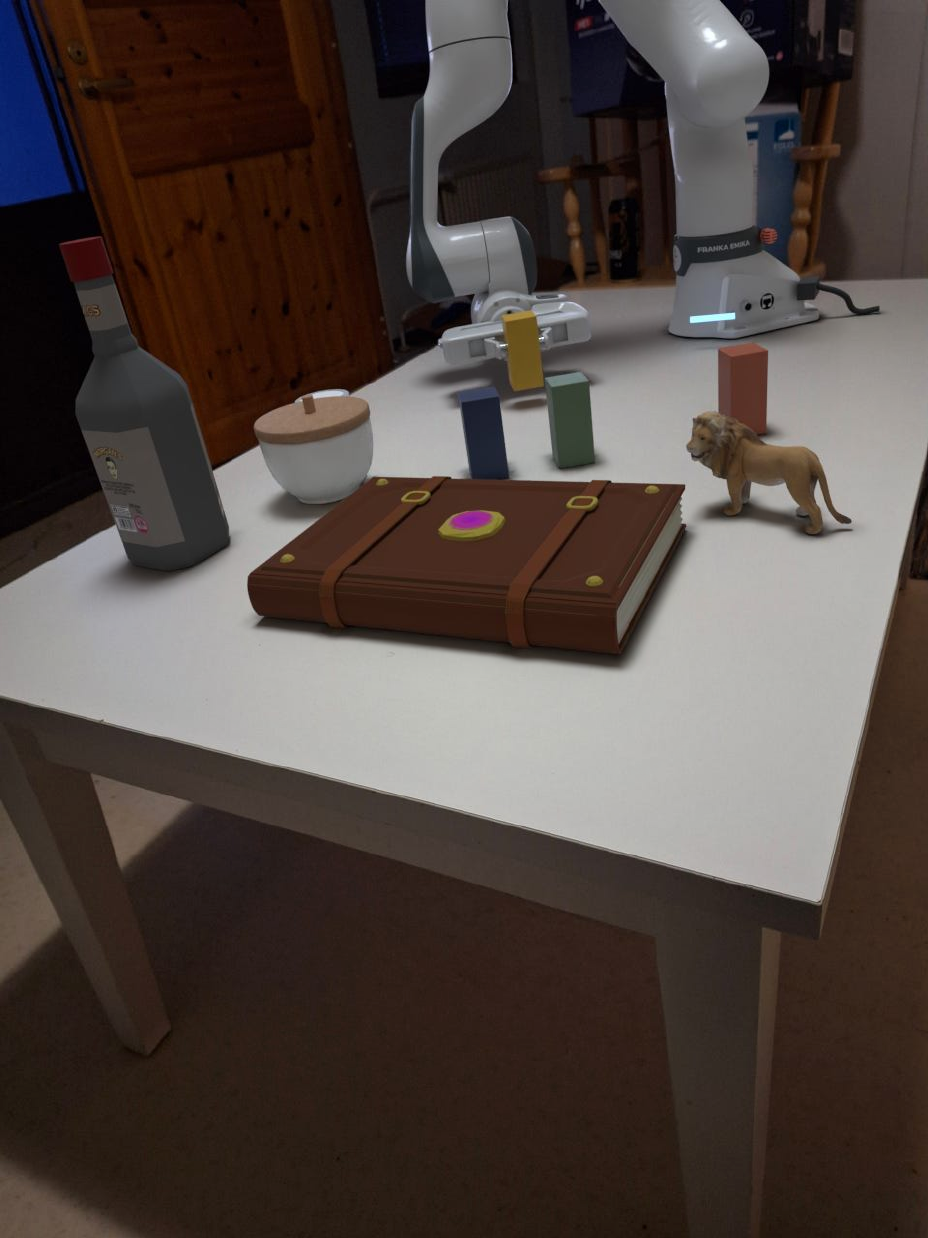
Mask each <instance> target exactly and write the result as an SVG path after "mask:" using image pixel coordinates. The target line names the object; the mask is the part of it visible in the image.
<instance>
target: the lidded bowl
mask: <svg viewBox="0 0 928 1238" xmlns="http://www.w3.org/2000/svg"><path fill="white" fill-rule="evenodd" d="M301 397H302V401H300V402H296V403H295V402H293V403H290V404H289V403H288V404H285V405H283V406H280V407H278V408H275V409H273V410H271V411H269V412H267V413H265V414H263V415H262V416H260V417H259V418H258V419H256V420H255V422H254V425H253V430H254V434H255V437H256V439H257V440H258V444H259V447H260V451H261V454H262V457H263V459H264V463H265V464H266V467H267V468H268V470H269V472H270V475H272V477H273V479H274V480H275V482H276V483H277V484H278V485H279V486H280V487H281V488H282V489H283V490H284V491H286V492H288V493H289V494H290V495H292V496H294V497H296V498H297V500H298V501H299V502H300V503H303V504H306V505H324V504H330V503H335V502H339V501H343V500H344V499H346V498H347V497H348V496H349V495H351V494H352V493H353V492H355V491H356V490H357V489H358V488H360V487H361V484H362V482H363V481H364V480H365V478H366V477H367V475H368V474H369V472H370V469H371V467H372V463H373V458H374V445H375V444H374V433H373V426H372V421H371V408H370V405H369V402H368V401H366V400H365V399H363V398H362V397H356V396H350V395H349V396H332V397H322V398H315V399H313V395H307V394H305V395H302V396H301Z"/></svg>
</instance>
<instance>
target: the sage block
mask: <svg viewBox="0 0 928 1238" xmlns="http://www.w3.org/2000/svg"><path fill="white" fill-rule="evenodd" d="M544 386H545V396H546V403H547V415H548V424H549V433H550V434H549V435H550V444H551V454H552V458H553V460H554V462H555V463H556V465H557V467H558V468H559V469H564V468H571V467H577V466H583V465H587V464H593V463H596V456H595V455H596V454H595V443H594V442H595V441H594V440H595V439H594V430H593V429H594V428H593V416H592V402H591V389H590V380H589V379H588V378H587V377H586V376H585V374H584V373H583V372H582V371H577V372H571V373H566V374H559V375H554V376H553V375H552V376H548V377H545V378H544Z"/></svg>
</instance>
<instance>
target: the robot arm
mask: <svg viewBox="0 0 928 1238" xmlns="http://www.w3.org/2000/svg"><path fill="white" fill-rule="evenodd" d="M597 1H598V3H600V5H601V6H602V7H603V9H604V10H605V12H606V14H608V16H609V17H610V19H611V20H612V22H614V24H615V25H616V27H617V28H618V29H619V31H620V32H621V33H622V35H623V36H624V37H625V39H626V40H627V42H628V44H630V46H631V47H633V48H634V49H635V50H636V51H637V52H638V54H640V55H641V57H642V58H643V59H644V60H645V61H646V62H647V63H648V64H649V65H650V67H652V69H653V70H654V71H655V72H656V73H657V74H658V76H660V78H661V79H662V80H663V81H664V95H665V101H666V113H667V123H668V124H667V125H668V131H669V132H668V133H669V142H670V150H671V157H672V164H673V171H674V172H673V173H674V185H675V186H674V189H675V220H676V221H675V222H676V224H675V225H676V234H675V235H674V236H673V247H672V248H673V249H672V257H673V260H672V261H673V269H674V274H675V288H674V289H675V290H674V299H673V307H672V311H671V312H672V313H671V317H670V322H669V325H668V329H667V330H668V332H669V333H670V334H672V335H675V336H679V337H687V338H688V337H689V338H719V339H720V338H721V339H738V338H742V337H743V338H744V337H747V336H751V335H756V334H760V333H765V332H769V331H774V330H777V329H782V328H783V329H784V328H788V327H791V326H792V327H793V326H795V325H800V324H805V323H808V322H813V321H817V320H819V318H820V310H819V308H818V307H817V306H815V305H813V304H812V303H809V302H806V301H815V300H816V298H817V296H818V295H819V294H820V291H822V292H825V293H828V294H829V293H830V294H833V295H835V296H838V297H840V298H841V299H843V301H844V302H845V305H846V308H847V309H848V311H849V312H851V314H854V315H859V316H865V315H870V314H873V313H879V312H880V310H881V309H880V307H881V306H880V305H875V306H871V307H866V308H858V307H856V306H855V304H854V303H853V300H852V298H851V296H850V295H849V294H848V292H846V291H844V290H842V289H841V288H838V287H835V286H831V285H827V284H823V283H821V275H809V276H807V275H805V276H802V277H801V278H800V275H799V274H798V273H796V271H795V270H793V269H792V268H790V267H789V266H787V265H786V264H784V263H783V262H782V261H780V260H779V259H778V258H776V257H775V256H773V255H772V254H771V253H769V252H767V251H766V250H765V244H769V245H770V244H773V243H775V242H776V240H777V239H778V231H776V229H774V228H770V227H766V228H761V227H758V226H757V225H755V224H754V165H753V160H752V158H751V157H752V156H751V152H750V148H749V140H748V134H747V126H746V117H747V116H749V115H751V113H752V112H754V110H755V109H756V107H757V106H758V105H759V104H760V102H761V101H762V99H763V98H764V96H765V94H766V92H767V88H768V85H769V81H770V80H769V79H770V65H769V61H768V57H767V55H766V53H765V51H764V49H763V48H762V47H761V45H760V44H759V43H758V42H756V41H755V40H754V39H753V38H752V36H750V35H749V33H748V31H746V30H745V28H744V27H743V25H741V23H740V22H739V21H738V20H737V18H736V17H735V16H734V15H733V14H732V13H731V11H730V10H729V9H728V8H727V7H726V6H725V5H724V3H723V2H721V0H597ZM508 2H509V0H425V28H426V40H427V49H428V56H429V75H428V76H429V77H428V82H427V86H426V89H425V92H424V95H423V96H421V97H420V98H419V99H418V100H417V101H416V102H415V104H414V106H413V110H412V117H411V125H410V126H411V127H410V128H411V129H410V151H409V234H408V235H409V236H408V240H407V241H408V242H407V249H406V256H405V269H406V270H405V271H406V276H407V279H408V280H407V281H408V282H409V285H410V287H411V291H413V292H414V293H415V294H416V295H417V296H419V297H420V298H422V299H424V300H425V301H427V302H429V303H432V304H438V303H441V302H445V301H448V300H453V299H455V298H456V297H463V296H470V295H474V296H473V299H472V300H471V305H470V319H471V324H466V325H461V326H455V327H452V328H448V329H446V330H444V332H443V333H442V336H441V338H438V340H437V345H438V347H439V348H440V349H442V352H443V357H444V362H445V364H446V365H450V366H456V365H462V364H468V363H473V362H478V361H485V360H489V359H497V360H499V361H504V362H507V357H509V355H508V347H507V343H506V342H505V341H504V334H503V326H502V318H501V316H502V315H507V314H513V313H519V312H524V311H530V310H531V311H532V312H533V313H534V314H535V315H536V316H537V325H538V335H539V344H540V352H546V351H549V350H550V348H557V347H561V346H567V345H573V344H578V343H585V342H588V341H589V340H591V339H592V325H591V317H590V313H589V312H588V310H586V308H584V307H583V306H581V305H580V304H578V303H576V302H573V301H569V299H568V296H567V295H566V294H563V293H561V294H547V295H546V294H541V295H540V294H538V295H533V293H534V291H535V288H536V286H537V283H538V261H537V254H536V249H535V246H534V241H533V239H532V237H531V235H530V232H529V231H528V229H527V228H526V227H525V226H524V225H523V224H522V223H521V222H520V221H519V220H518V219H517V218H515V217H514V216H511V215H509V216H502V217H495V218H488V219H482V220H479V221H474V222H467V223H460V224H455V225H453V224H452V225H441V224H440V223H439V221H438V195H439V194H438V193H439V191H438V190H439V189H438V188H439V166H440V160H441V157H442V155H443V154H444V152H445V150H446V149H447V148H448V147H449V146H450V145H451V144H452V143H453V142H454V141H456V140H457V139H458V138H460V137H461V136H463V135H465V134H466V133H467V132H469V131H471V130H473V129H474V128H476V127H477V126H479V125H481V124H482V123H483V122H485V121H486V120H487V119H489V118H490V117H492V116H493V115H494V114H495V113H496V112H498V110H499V109H500V108H501V106H502V105H504V102H505V101H506V99H507V97H508V95H509V93H510V91H511V87H512V85H513V84H512V83H513V54H512V52H513V51H512V44H511V35H510V26H509V20H508Z"/></svg>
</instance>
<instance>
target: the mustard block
mask: <svg viewBox="0 0 928 1238" xmlns="http://www.w3.org/2000/svg"><path fill="white" fill-rule="evenodd" d="M501 318H502V326H503V334H504V341H505V342H506V343H507V347H508V355H509V357H507V361H506V363H507V371H508V372H507V373H508V379H509V385H510V386H511V388H512V390H513V392H519V391H524V390H531V389H536V388H542V387H545V379H544V372H543V364H542V363H543V362H542V354H541V351H540V344H539V335H538V325H537V316H536V315H535V314H534V313H533V312H532V311H531V310H530V311H524V312H519V313H513V314H507V315H502V316H501Z"/></svg>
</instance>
